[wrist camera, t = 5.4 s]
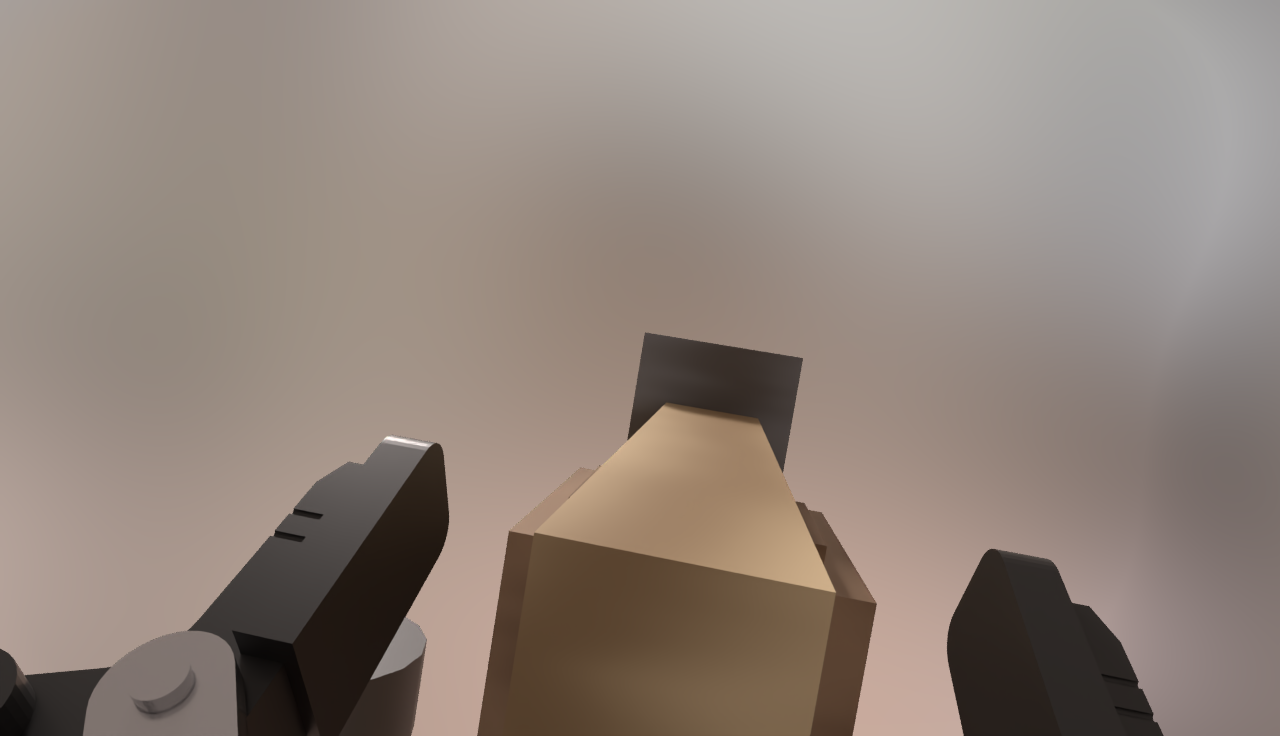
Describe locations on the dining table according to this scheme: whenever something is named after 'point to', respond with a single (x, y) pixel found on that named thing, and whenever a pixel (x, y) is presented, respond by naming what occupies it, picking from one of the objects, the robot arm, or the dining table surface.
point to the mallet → (680, 567)
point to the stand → (841, 650)
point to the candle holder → (391, 688)
